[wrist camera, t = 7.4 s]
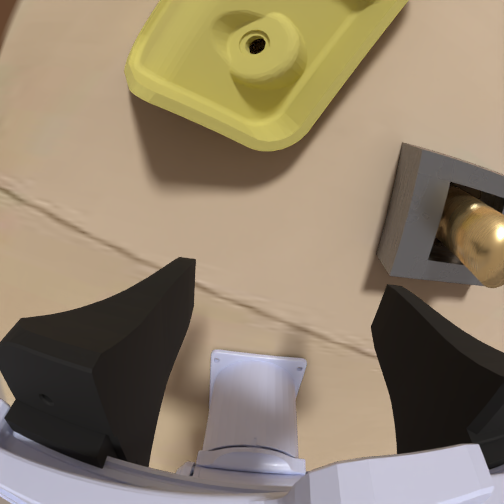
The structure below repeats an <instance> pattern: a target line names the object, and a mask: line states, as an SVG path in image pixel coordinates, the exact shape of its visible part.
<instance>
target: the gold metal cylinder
mask: <svg viewBox="0 0 504 504" xmlns="http://www.w3.org/2000/svg"><path fill="white" fill-rule="evenodd" d="M435 237H436V238H437V239H438V240H439V241H440V242H442V243H443V244H444V245H445V246H446V247H447V248H448V249H449V250H450V251H451V252H452V253H453V254H454V255H455V256H456V257H457V258H458V259H459V260H460V261H461V262H462V263H463V264H464V265H465V266H466V267H467V268H468V269H469V270H470V271H471V272H472V274H473V275H474V276H475V277H476V278H477V279H478V280H479V281H480V282H481V283H482V284H483V285H484V286H486V287H488V288H496V287H500V286H502V285H504V215H503V214H501V213H500V212H498V211H497V210H495V209H493V208H492V207H490V206H488V205H487V204H485V203H484V202H482V201H480V200H479V199H477V198H475V197H473V196H472V195H470V194H468V193H467V192H465V191H463V190H461V189H459V188H457V187H454V186H449V190H448V194H447V198H446V202H445V205H444V209H443V213H442V216H441V220H440V223H439V226H438V230H437V233H436V236H435Z"/></svg>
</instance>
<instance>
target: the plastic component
mask: <svg viewBox="0 0 504 504" xmlns="http://www.w3.org/2000/svg"><path fill="white" fill-rule="evenodd" d="M407 2H408V0H160V1H159V2H158V4H157V6H156V7H155V9H154V10H153V12H152V13H151V15H150V16H149V18H148V20H147V21H146V23H145V25H144V26H143V28H142V30H141V31H140V33H139V35H138V36H137V38H136V40H135V42H134V44H133V46H132V49H131V51H130V53H129V56H128V58H127V61H126V65H125V70H124V73H125V76H126V80H127V83H128V87H129V90H130V91H131V92H132V93H133V94H134V95H136V96H137V97H139V98H141V99H142V100H144V101H146V102H148V103H151V104H153V105H155V106H158V107H160V108H163V109H165V110H168V111H170V112H172V113H175V114H177V115H179V116H182V117H184V118H186V119H188V120H191V121H193V122H195V123H197V124H200V125H202V126H204V127H206V128H208V129H211V130H213V131H215V132H217V133H219V134H221V135H224V136H226V137H228V138H230V139H232V140H234V141H236V142H238V143H240V144H242V145H244V146H246V147H248V148H250V149H254V150H258V151H276V150H281V149H284V148H287V147H289V146H291V145H293V144H295V143H296V142H298V141H299V140H300V139H302V138H303V137H304V136H305V135H306V134H307V133H308V132H309V130H310V129H311V128H312V126H313V125H314V123H315V122H316V121H317V119H318V118H319V117H320V115H321V114H322V113H323V111H324V110H325V109H326V107H327V106H328V105H329V103H330V102H331V101H332V99H333V98H334V97H335V95H336V94H337V93H338V91H339V90H340V89H341V87H342V86H343V85H344V83H345V82H346V81H347V79H348V78H349V77H350V75H351V74H352V73H353V71H354V70H355V69H356V67H357V66H358V65H359V63H360V62H361V61H362V59H363V58H364V57H365V56H366V54H367V53H368V52H369V50H370V49H371V48H372V46H373V45H374V44H375V43H376V41H377V40H378V39H379V37H380V36H381V35H382V34H383V32H384V31H385V30H386V28H387V27H388V26H389V25H390V23H391V22H392V21H393V19H394V18H395V17H396V16H397V14H398V13H399V12H400V11H401V9H402V8H403V7H404V5H405V4H406V3H407ZM256 39H264V40H265V42H266V45H265V48H264V50H263V51H262V52H260V53H258V54H251V53H250V50H249V47H250V44H251V43H252V42H253V41H254V40H256Z"/></svg>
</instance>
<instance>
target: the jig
mask: <svg viewBox="0 0 504 504" xmlns="http://www.w3.org/2000/svg"><path fill="white" fill-rule="evenodd" d="M450 182H454V183H457V184H461V185H464V186H467V187H471V188H474V189H477V190H480V191H482V193H481V196H480V201H482V202H484V203H485V204H487V205H488V206H490V207H492V208H493V209H495V210H497V211H498V212H500V213H501V214H503V215H504V175H503V174H500V173H497V172H495V171H492V170H489V169H487V168H484V167H481V166H478V165H476V164H473V163H470V162H467V161H464V160H461V159H458V158H455V157H452V156H448V155H445V154H442V153H439V152H435V151H432V150H428V149H425V148H421V147H418V146H414V145H410V144H407V143H402V148H401V154H400V159H399V164H398V169H397V173H396V178H395V183H394V187H393V192H392V196H391V200H390V204H389V209H388V213H387V217H386V221H385V225H384V228H383V232H382V236H381V240H380V243H379V247H378V250H377V254H376V255H377V257H378V258H379V260H380V261H381V263H382V265H383V266H384V268H385V269H386V271H387V273H388V274H389V276H395V277H405V278H414V279H423V280H432V281H441V282H450V283H460V284H469V285H479V286H484V285H483V284H482V283H481V282H480V281H479V280H478V279H477V278H476V277H475V276H474V275H473V274H472V272H471V271H470V270H469V269H468V268H467V267H466V266H465V265H464V264H463V263H462V262H461V261H460V260H459V259H458V258H457V257H456V256H455V255H454V254H453V253H452V252H451V251H450V250H449V249H448V248H447V247H444V246H438V245H433V243H434V239H435V236H436V233H437V230H438V226H439V223H440V220H441V216H442V213H443V209H444V205H445V202H446V198H447V194H448V190H449V186H450Z"/></svg>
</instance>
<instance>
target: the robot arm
mask: <svg viewBox="0 0 504 504" xmlns="http://www.w3.org/2000/svg"><path fill="white" fill-rule="evenodd" d="M195 266H196V259H190V258H183V257H179V258H177V259H175V260H174V261H172V262H171V263H169V264H168V265H166V266H165V267H163V268H162V269H160V270H159V271H157V272H156V273H154V274H153V275H151V276H149V277H148V278H146V279H144V280H143V281H141V282H139V283H137V284H136V285H134V286H132V287H130V288H129V289H127V290H125V291H123V292H121V293H118V294H116V295H114V296H112V297H109V298H107V299H104V300H102V301H99V302H96V303H93V304H90V305H87V306H84V307H81V308H77V309H74V310H70V311H65V312H61V313H56V314H51V315H44V316H36V317H28V318H21V319H20V320H19V321H18V322H17V323H16V324H15V326H14V327H13V328H12V329H11V330H10V331H9V332H8V334H7V335H6V336H5V337H4V338H3V339H2V341H1V342H0V371H1V373H2V375H3V377H4V379H5V380H6V382H7V384H8V386H9V388H10V390H11V392H12V393H13V395H14V397H15V399H16V400H15V401H14V403H13V405H12V406H11V407H10V405H8V404H7V403H6V402H5V401H4V400H2V399H1V398H0V497H2V498H3V499H5V500H7V501H8V502H10V503H11V504H504V353H503V352H501V351H499V350H497V349H495V348H493V347H491V346H489V345H487V344H485V343H483V342H481V341H479V340H477V339H476V338H474V337H472V336H471V335H469V334H468V333H466V332H464V331H463V330H461V329H460V328H458V327H457V326H455V325H454V324H453V323H451V322H450V321H448V320H447V319H446V318H444V317H443V316H442V315H440V314H439V313H438V312H436V311H435V310H434V309H433V308H431V307H430V306H429V305H427V304H426V303H425V302H423V301H422V300H421V299H420V298H418V297H417V296H416V295H414V294H413V293H411V292H410V291H408V290H407V289H405V288H403V287H402V286H396V285H388V284H387V286H386V289H385V292H384V294H383V297H382V300H381V302H380V305H379V308H378V310H377V313H376V315H375V318H374V320H373V323H372V325H371V330H372V337H373V342H374V347H375V351H376V354H377V357H378V360H379V363H380V367H381V370H382V373H383V376H384V379H385V382H386V385H387V388H388V391H389V395H390V399H391V403H392V409H393V416H394V422H395V431H396V442H397V454H394V455H384V456H372V457H362V458H356V459H350V460H343V461H337V462H334V463H331V464H328V465H325V466H322V467H319V468H316V469H313V470H312V471H306V468H305V459H299V458H298V436H297V416H296V396H297V393H298V390H299V387H300V384H301V381H302V378H303V375H304V372H305V369H306V366H307V361H306V360H305V359H303V358H293V357H281V356H271V355H261V354H251V353H243V352H234V351H226V350H219V349H215V350H213V351H212V353H211V370H210V402H209V415H208V421H207V426H206V432H205V437H204V443H203V449H202V450H199V451H198V455H197V461H196V464H195V462H190V461H187V462H185V464H184V465H182V466H180V467H179V468H178V469H177V471H176V473H171V472H166V471H162V470H157V469H153V468H149V461H150V455H151V449H152V444H153V439H154V434H155V430H156V425H157V420H158V416H159V412H160V408H161V403H162V399H163V396H164V392H165V388H166V384H167V381H168V378H169V375H170V372H171V370H172V367H173V365H174V362H175V360H176V357H177V355H178V352H179V350H180V347H181V345H182V342H183V340H184V337H185V335H186V332H187V330H188V327H189V323H190V319H191V315H192V311H193V307H194V288H195ZM215 358H217V359H218V360H217V359H215ZM298 367H301V368H298Z"/></svg>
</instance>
